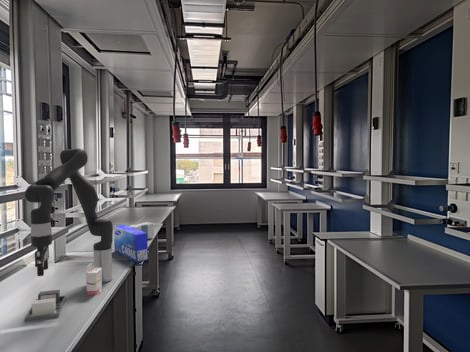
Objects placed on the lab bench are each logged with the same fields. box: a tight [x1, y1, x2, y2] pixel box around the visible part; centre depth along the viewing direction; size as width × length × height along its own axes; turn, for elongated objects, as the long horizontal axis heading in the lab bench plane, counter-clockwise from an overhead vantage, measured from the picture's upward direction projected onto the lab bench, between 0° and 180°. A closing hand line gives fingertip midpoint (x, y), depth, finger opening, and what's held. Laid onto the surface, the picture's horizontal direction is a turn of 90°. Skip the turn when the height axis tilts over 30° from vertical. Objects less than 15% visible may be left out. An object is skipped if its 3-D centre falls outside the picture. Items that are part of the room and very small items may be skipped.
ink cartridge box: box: [85, 261, 103, 296], centre depth 173 cm, size 9×5×15 cm, turn 4°
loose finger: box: [31, 298, 56, 316], centre depth 147 cm, size 4×8×6 cm, turn 107°
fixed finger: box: [37, 289, 61, 304], centre depth 157 cm, size 4×8×6 cm, turn 108°
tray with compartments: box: [24, 295, 67, 322], centre depth 152 cm, size 20×12×3 cm, turn 18°
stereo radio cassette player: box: [128, 214, 155, 240], centre depth 289 cm, size 21×8×20 cm, turn 148°
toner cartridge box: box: [113, 224, 149, 263], centre depth 242 cm, size 39×8×18 cm, turn 39°
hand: (42, 272), depth 146 cm, fingers open, 8 cm apart
